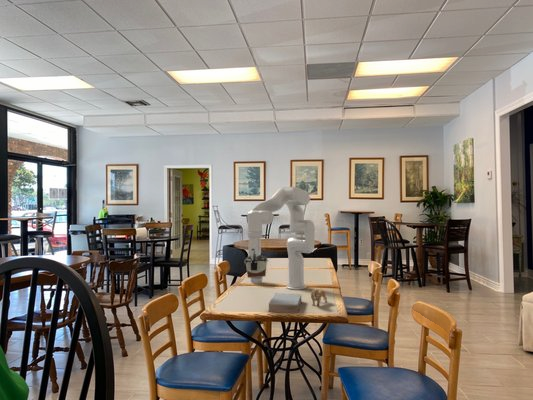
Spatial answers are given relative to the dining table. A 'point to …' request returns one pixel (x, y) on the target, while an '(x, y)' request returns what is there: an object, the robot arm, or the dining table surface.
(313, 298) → the lion figurine
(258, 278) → the coffee cup
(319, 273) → the dining table surface
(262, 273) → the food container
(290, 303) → the pedestal
